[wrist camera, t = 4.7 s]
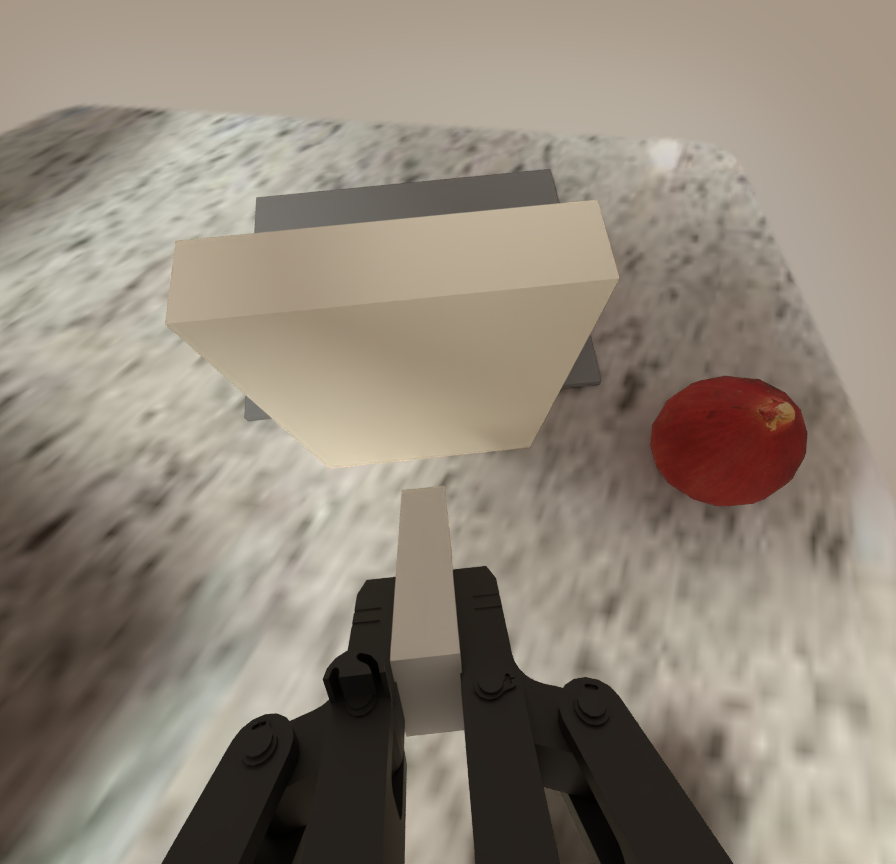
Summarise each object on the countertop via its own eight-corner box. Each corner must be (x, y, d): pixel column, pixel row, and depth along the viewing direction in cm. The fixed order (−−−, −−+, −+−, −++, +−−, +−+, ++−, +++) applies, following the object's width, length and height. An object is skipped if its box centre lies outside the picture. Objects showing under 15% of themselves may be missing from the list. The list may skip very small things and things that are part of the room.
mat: (598, 384, 25) (601, 381, 24) (248, 421, 25) (244, 417, 24) (548, 175, 30) (550, 168, 30) (259, 203, 30) (256, 197, 29)
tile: (329, 468, 24) (164, 323, 10) (328, 421, 25) (176, 233, 11) (529, 447, 24) (619, 278, 11) (521, 401, 25) (595, 192, 11)
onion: (660, 392, 25) (749, 308, 17) (756, 451, 23) (899, 388, 16) (607, 472, 23) (679, 419, 16) (707, 539, 22) (837, 517, 14)
